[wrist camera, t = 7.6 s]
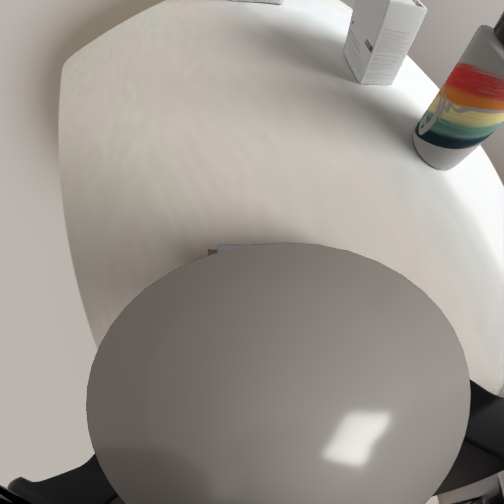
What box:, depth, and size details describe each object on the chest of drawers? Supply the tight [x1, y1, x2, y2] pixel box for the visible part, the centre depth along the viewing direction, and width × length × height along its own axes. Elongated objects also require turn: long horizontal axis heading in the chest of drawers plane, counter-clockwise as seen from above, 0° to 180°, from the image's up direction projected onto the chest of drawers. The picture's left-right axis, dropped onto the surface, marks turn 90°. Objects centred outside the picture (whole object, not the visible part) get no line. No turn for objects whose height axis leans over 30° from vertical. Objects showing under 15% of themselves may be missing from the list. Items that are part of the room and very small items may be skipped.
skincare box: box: [344, 0, 427, 85], centre depth 19 cm, size 6×4×12 cm
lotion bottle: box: [413, 12, 504, 170], centre depth 13 cm, size 6×6×20 cm
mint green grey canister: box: [86, 243, 471, 504], centre depth 9 cm, size 6×6×13 cm
